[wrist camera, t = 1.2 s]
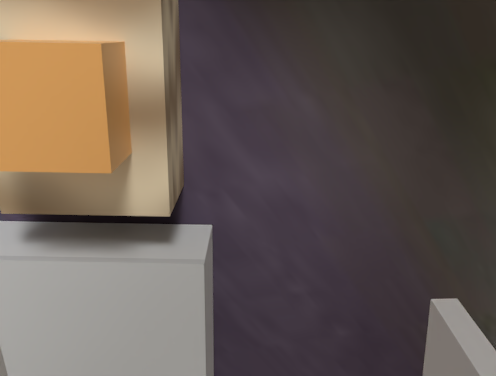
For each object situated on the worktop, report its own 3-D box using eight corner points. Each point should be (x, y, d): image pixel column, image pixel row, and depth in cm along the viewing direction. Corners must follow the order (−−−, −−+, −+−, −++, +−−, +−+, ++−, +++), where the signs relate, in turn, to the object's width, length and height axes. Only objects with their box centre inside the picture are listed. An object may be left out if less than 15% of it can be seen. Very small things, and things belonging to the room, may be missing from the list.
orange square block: (10, 39, 24) (-35, 41, 21) (124, 41, 24) (100, 43, 21) (25, 150, 26) (-13, 171, 23) (131, 152, 26) (111, 173, 23)
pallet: (15, -34, 29) (-43, -50, 23) (177, -32, 29) (158, -46, 23) (44, 182, 33) (1, 213, 28) (184, 184, 33) (169, 216, 28)
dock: (-7, 220, 34) (-59, 259, 28) (212, 224, 34) (204, 264, 28) (24, 396, 39) (-15, 458, 34) (214, 400, 39) (207, 463, 33)
